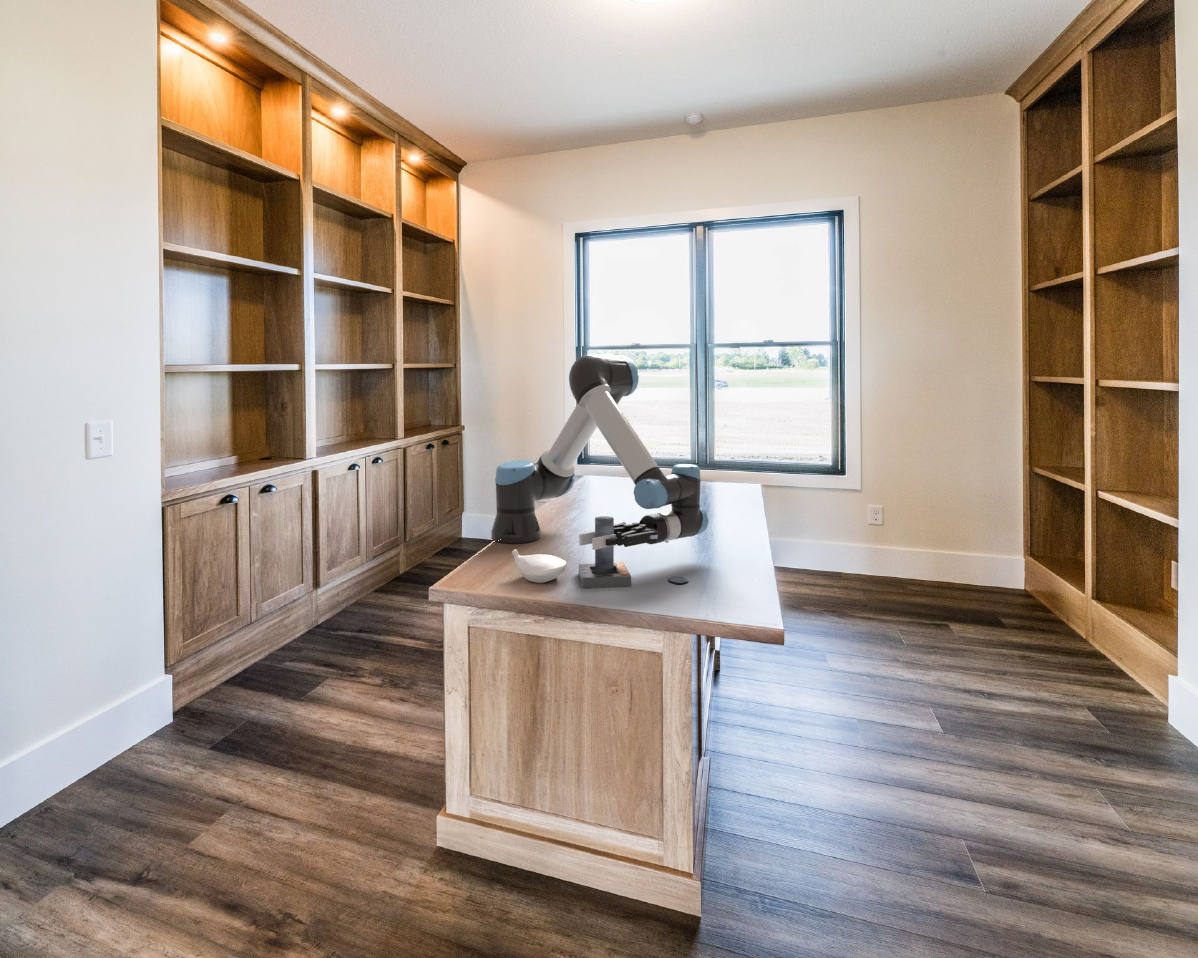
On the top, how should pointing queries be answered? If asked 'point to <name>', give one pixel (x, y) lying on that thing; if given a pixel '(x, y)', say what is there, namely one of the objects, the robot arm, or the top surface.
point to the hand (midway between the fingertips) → (586, 541)
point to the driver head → (539, 566)
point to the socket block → (604, 576)
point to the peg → (606, 555)
